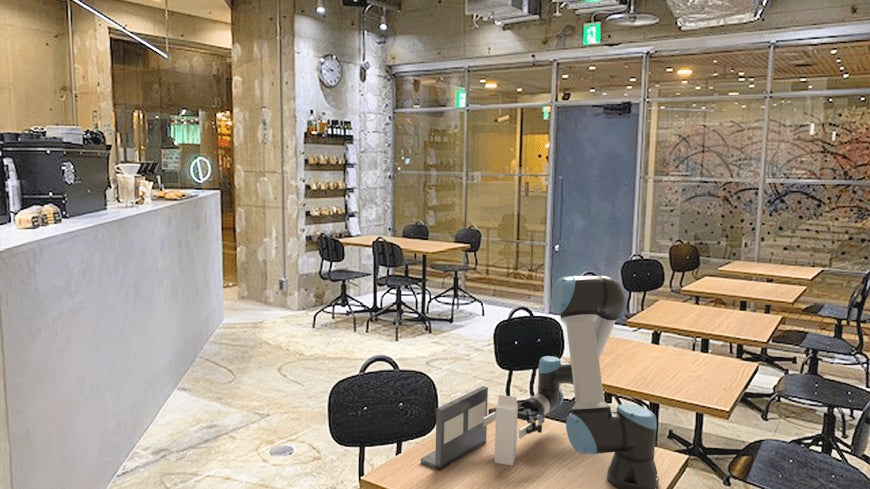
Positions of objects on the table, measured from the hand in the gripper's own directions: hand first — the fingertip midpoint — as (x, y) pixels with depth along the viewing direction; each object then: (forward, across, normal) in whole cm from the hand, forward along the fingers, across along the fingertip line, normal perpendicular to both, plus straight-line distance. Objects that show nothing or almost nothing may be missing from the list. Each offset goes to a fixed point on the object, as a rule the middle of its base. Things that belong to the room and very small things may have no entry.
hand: (501, 428), depth 201 cm
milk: (-3, 0, -12) cm, 13 cm away
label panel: (+4, +16, -12) cm, 20 cm away
